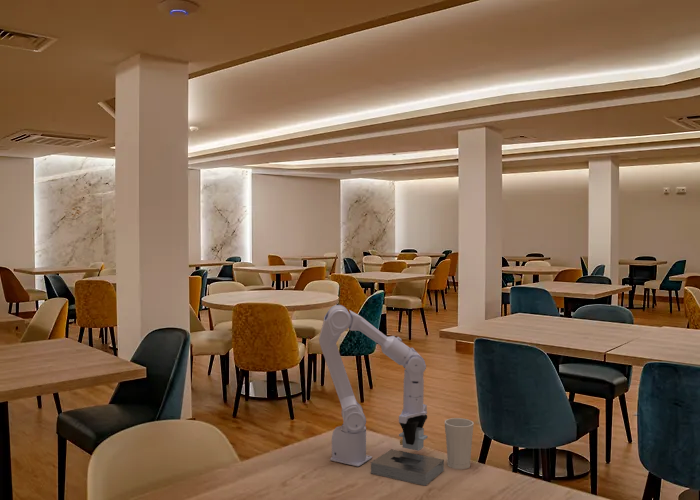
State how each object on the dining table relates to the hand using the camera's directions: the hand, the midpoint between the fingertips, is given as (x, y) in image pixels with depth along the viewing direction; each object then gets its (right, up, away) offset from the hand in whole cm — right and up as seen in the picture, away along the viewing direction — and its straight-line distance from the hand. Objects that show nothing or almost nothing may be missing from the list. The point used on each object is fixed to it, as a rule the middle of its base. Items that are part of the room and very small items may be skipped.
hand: (412, 442), depth 179 cm
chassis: (-2, -5, -10) cm, 11 cm away
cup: (+12, -5, -5) cm, 14 cm away
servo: (0, -2, 0) cm, 2 cm away
